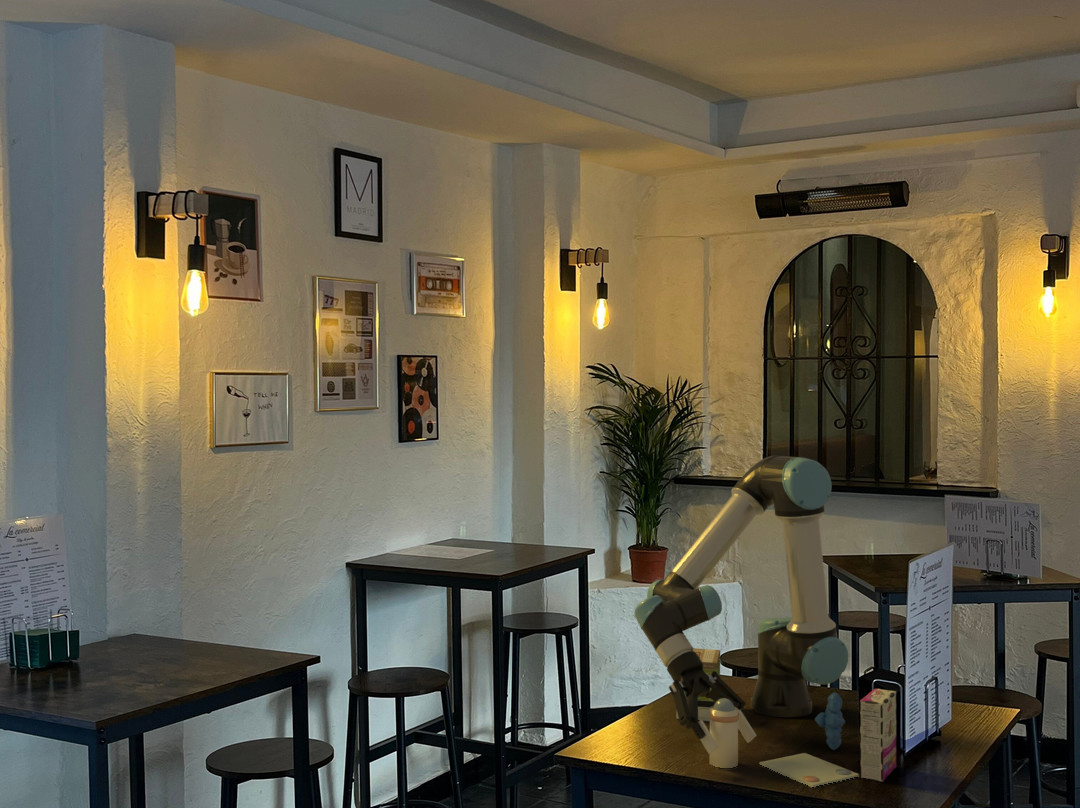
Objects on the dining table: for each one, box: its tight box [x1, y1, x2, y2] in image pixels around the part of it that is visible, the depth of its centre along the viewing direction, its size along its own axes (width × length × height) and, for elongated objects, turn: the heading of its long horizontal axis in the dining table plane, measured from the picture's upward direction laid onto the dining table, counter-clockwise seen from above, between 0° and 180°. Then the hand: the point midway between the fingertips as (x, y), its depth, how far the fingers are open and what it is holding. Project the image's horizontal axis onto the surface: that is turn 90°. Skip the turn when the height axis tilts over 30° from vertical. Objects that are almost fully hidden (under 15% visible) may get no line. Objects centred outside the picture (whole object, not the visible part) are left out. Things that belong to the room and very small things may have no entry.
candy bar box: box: [859, 688, 897, 783], centre depth 236 cm, size 11×5×16 cm, turn 148°
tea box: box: [676, 647, 721, 722], centre depth 280 cm, size 15×10×15 cm
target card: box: [759, 752, 860, 788], centre depth 237 cm, size 13×16×1 cm
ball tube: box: [709, 698, 739, 768], centre depth 241 cm, size 6×6×14 cm
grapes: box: [814, 691, 846, 751], centre depth 254 cm, size 12×7×12 cm, turn 163°
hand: (733, 744), depth 239 cm, fingers open, 12 cm apart
